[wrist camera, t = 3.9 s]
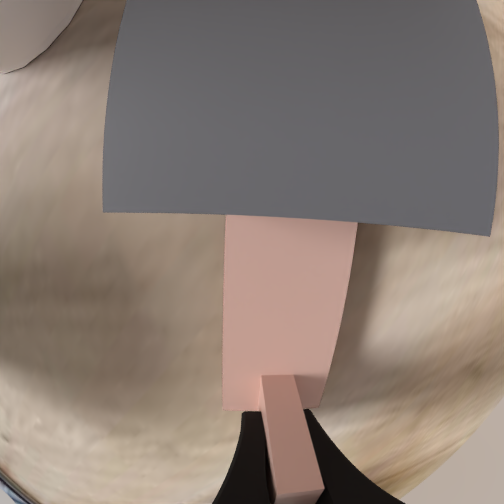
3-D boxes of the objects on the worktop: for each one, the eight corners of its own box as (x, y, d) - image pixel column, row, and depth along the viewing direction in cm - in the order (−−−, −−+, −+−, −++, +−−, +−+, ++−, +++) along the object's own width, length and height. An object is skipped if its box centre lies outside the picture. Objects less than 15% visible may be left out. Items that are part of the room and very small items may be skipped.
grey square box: (389, 20, 8) (463, -34, 3) (388, 204, 10) (489, 239, 5) (189, -9, 7) (166, -98, 2) (169, 190, 9) (103, 215, 4)
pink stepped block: (355, 195, 9) (479, 236, 3) (308, 428, 12) (334, 523, 6) (227, 186, 8) (215, 215, 3) (223, 431, 11) (222, 533, 6)
